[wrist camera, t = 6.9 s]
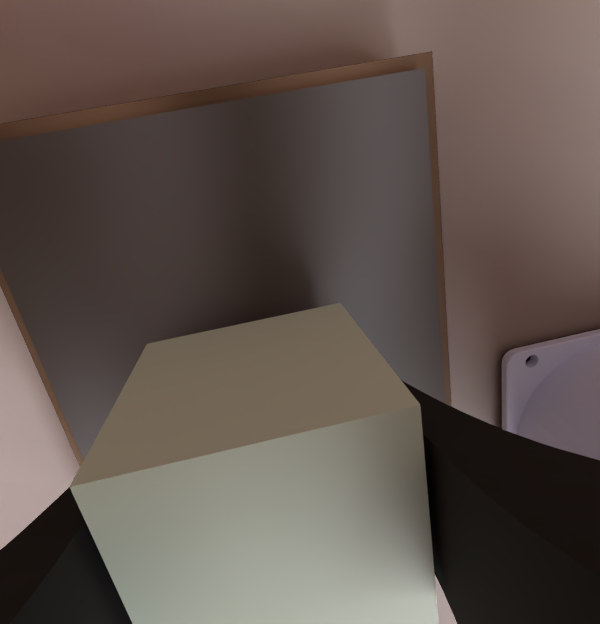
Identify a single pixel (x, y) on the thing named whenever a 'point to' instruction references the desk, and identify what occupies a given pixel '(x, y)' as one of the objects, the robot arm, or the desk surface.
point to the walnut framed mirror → (225, 224)
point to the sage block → (264, 480)
